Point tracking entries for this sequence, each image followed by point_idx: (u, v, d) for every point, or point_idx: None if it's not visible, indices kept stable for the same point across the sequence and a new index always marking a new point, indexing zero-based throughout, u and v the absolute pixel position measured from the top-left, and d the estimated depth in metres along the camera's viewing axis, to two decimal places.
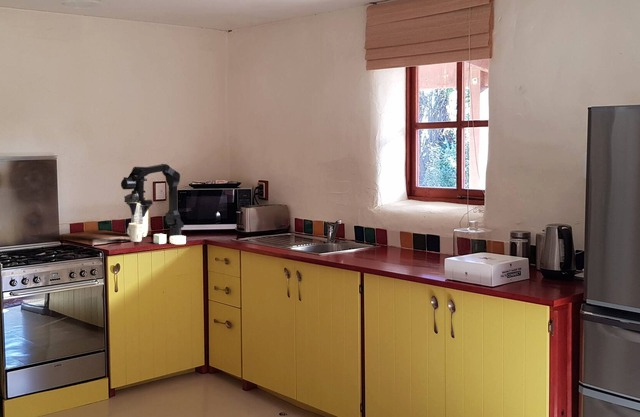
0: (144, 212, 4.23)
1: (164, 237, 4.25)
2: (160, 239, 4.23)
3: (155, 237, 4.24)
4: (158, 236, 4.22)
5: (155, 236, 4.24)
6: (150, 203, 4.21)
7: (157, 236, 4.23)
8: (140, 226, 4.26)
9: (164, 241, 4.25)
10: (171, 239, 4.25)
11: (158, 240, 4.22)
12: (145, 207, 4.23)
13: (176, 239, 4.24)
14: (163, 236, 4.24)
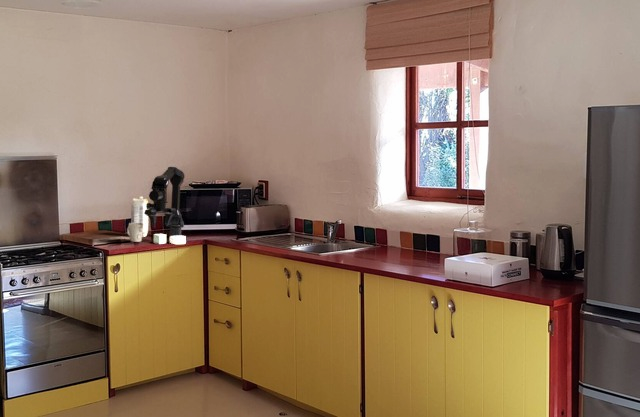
0: (152, 222, 4.20)
1: (164, 237, 4.25)
2: (160, 239, 4.23)
3: (155, 237, 4.24)
4: (158, 236, 4.22)
5: (155, 236, 4.24)
6: (148, 213, 4.16)
7: (157, 236, 4.23)
8: (140, 226, 4.26)
9: (164, 241, 4.25)
10: (171, 239, 4.25)
11: (158, 240, 4.22)
12: (152, 217, 4.19)
13: (176, 239, 4.24)
14: (163, 236, 4.24)
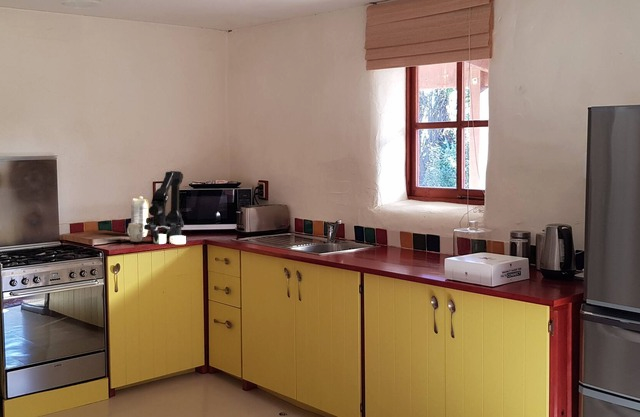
0: (154, 237, 4.22)
1: (164, 237, 4.25)
2: (160, 239, 4.23)
3: None
4: (158, 236, 4.22)
5: None
6: (148, 228, 4.17)
7: None
8: (140, 226, 4.26)
9: (164, 241, 4.25)
10: (171, 239, 4.25)
11: (158, 240, 4.22)
12: (155, 232, 4.22)
13: (176, 239, 4.24)
14: (163, 236, 4.24)
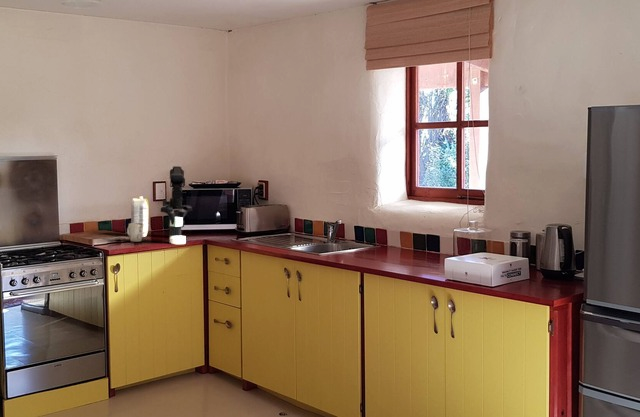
0: (171, 219, 4.24)
1: (180, 220, 4.26)
2: (176, 222, 4.24)
3: None
4: (174, 219, 4.24)
5: None
6: (164, 211, 4.18)
7: None
8: (140, 226, 4.26)
9: (180, 224, 4.26)
10: (171, 239, 4.25)
11: (174, 223, 4.24)
12: (171, 215, 4.23)
13: (176, 239, 4.24)
14: (179, 219, 4.25)
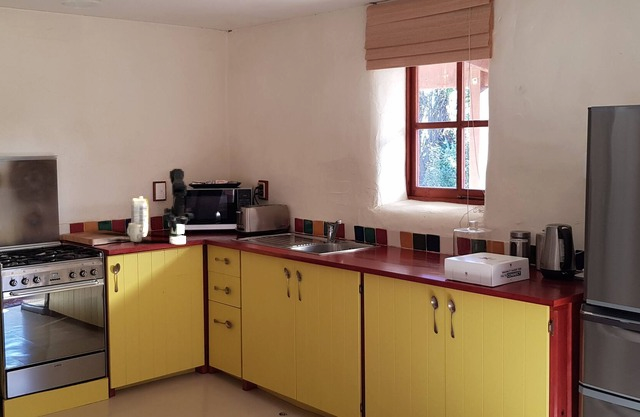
0: (173, 227, 4.25)
1: (182, 227, 4.27)
2: (178, 229, 4.25)
3: None
4: (176, 226, 4.24)
5: None
6: (166, 218, 4.19)
7: None
8: (140, 226, 4.26)
9: (182, 231, 4.27)
10: (171, 239, 4.25)
11: (176, 230, 4.25)
12: (173, 222, 4.24)
13: (176, 239, 4.24)
14: (181, 226, 4.26)
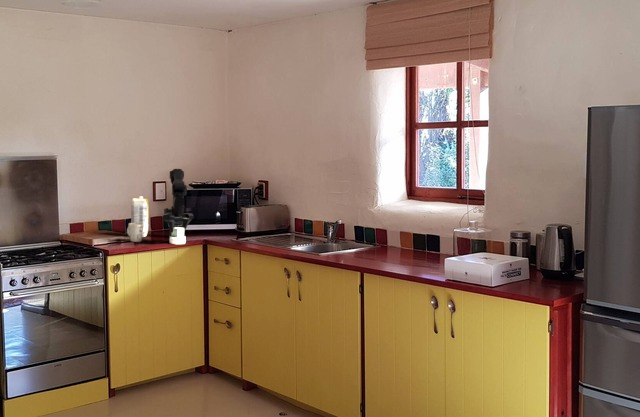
0: (170, 227, 4.23)
1: (182, 230, 4.27)
2: (178, 232, 4.25)
3: (173, 230, 4.26)
4: (176, 229, 4.25)
5: (173, 229, 4.26)
6: (166, 219, 4.19)
7: (175, 229, 4.25)
8: (140, 226, 4.26)
9: (182, 234, 4.27)
10: (171, 239, 4.25)
11: (176, 233, 4.25)
12: (170, 223, 4.22)
13: (176, 239, 4.24)
14: (181, 229, 4.26)
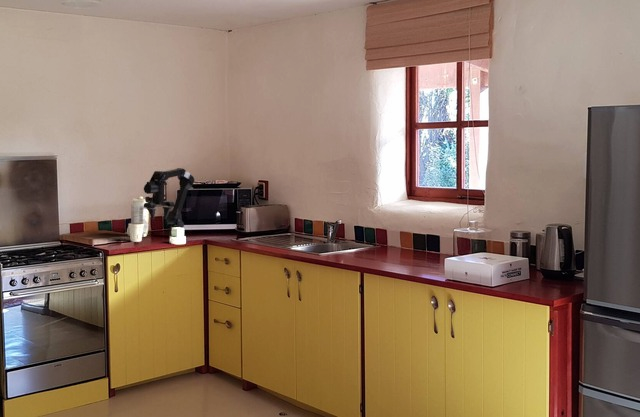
0: (151, 215, 4.31)
1: (182, 231, 4.27)
2: (178, 233, 4.25)
3: (173, 230, 4.26)
4: (176, 229, 4.25)
5: (173, 229, 4.26)
6: (148, 206, 4.27)
7: (175, 229, 4.25)
8: (140, 226, 4.26)
9: (182, 234, 4.27)
10: (171, 239, 4.25)
11: (176, 234, 4.25)
12: (151, 210, 4.30)
13: (176, 239, 4.24)
14: (181, 229, 4.26)
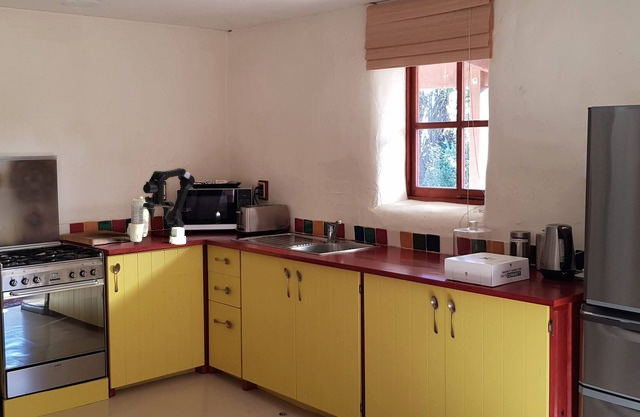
0: (150, 215, 4.31)
1: (182, 231, 4.27)
2: (178, 233, 4.25)
3: (173, 230, 4.26)
4: (176, 229, 4.25)
5: (173, 229, 4.26)
6: (147, 206, 4.27)
7: (175, 229, 4.25)
8: (140, 226, 4.26)
9: (182, 235, 4.27)
10: (171, 239, 4.25)
11: (176, 234, 4.25)
12: (151, 210, 4.31)
13: (176, 239, 4.24)
14: (181, 230, 4.26)
